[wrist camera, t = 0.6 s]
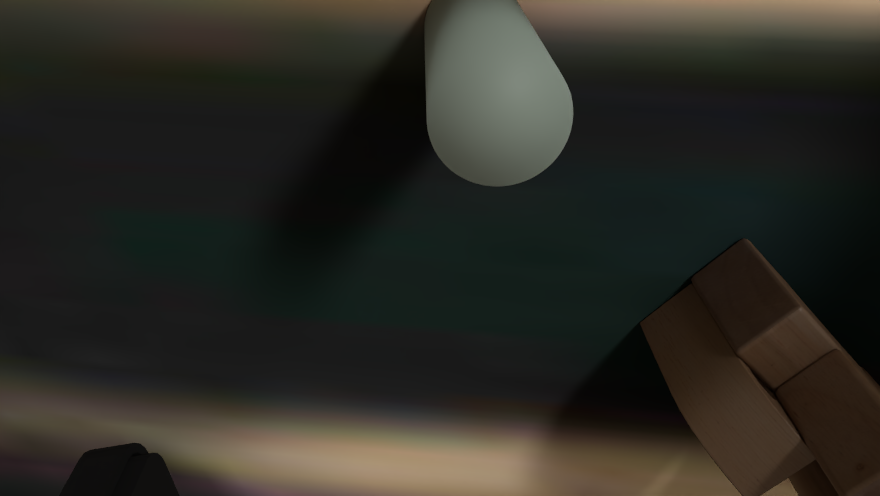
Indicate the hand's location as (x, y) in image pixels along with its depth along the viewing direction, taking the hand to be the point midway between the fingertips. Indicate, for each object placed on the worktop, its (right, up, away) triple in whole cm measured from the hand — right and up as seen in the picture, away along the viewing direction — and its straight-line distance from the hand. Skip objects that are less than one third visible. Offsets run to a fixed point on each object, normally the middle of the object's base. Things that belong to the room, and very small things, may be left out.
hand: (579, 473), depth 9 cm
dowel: (0, +11, +24) cm, 26 cm away
